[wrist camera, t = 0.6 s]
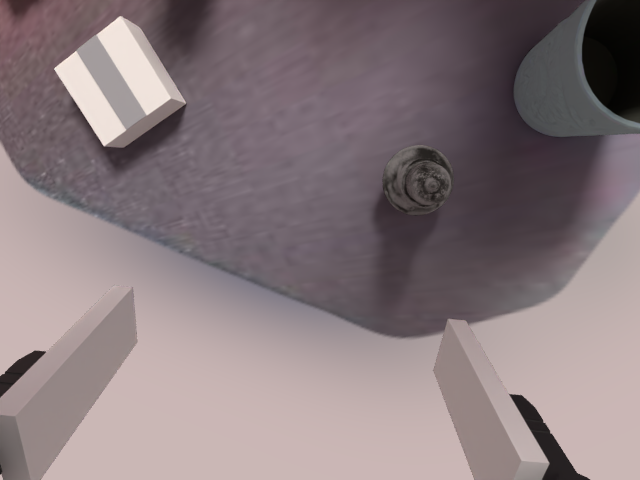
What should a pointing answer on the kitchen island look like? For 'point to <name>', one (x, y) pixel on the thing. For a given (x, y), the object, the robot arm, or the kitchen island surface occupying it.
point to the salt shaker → (418, 180)
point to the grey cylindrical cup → (585, 73)
